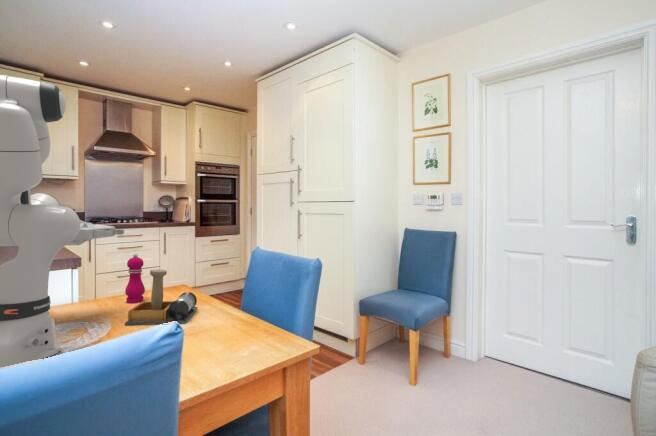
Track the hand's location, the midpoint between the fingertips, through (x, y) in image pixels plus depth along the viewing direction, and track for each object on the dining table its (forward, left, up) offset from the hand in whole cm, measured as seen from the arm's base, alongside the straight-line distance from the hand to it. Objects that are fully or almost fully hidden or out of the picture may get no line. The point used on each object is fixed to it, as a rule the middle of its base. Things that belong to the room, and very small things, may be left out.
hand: (117, 232), depth 122 cm
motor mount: (0, -16, -30) cm, 34 cm away
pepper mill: (+24, +3, -30) cm, 39 cm away
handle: (+3, -12, -29) cm, 32 cm away
